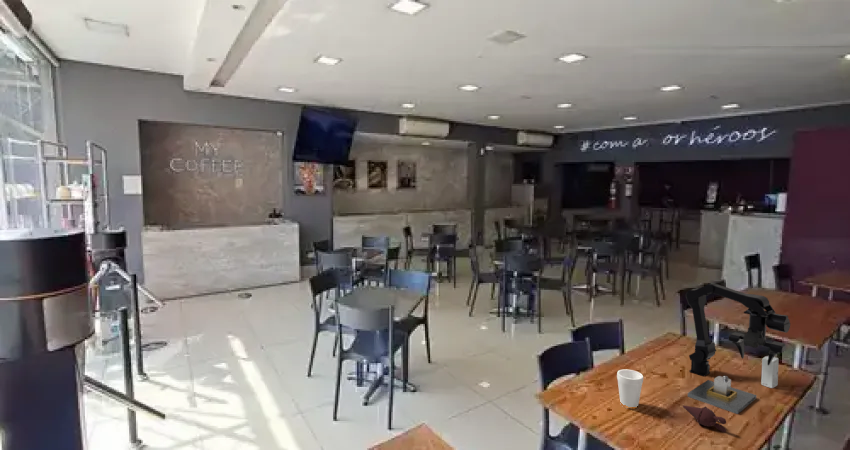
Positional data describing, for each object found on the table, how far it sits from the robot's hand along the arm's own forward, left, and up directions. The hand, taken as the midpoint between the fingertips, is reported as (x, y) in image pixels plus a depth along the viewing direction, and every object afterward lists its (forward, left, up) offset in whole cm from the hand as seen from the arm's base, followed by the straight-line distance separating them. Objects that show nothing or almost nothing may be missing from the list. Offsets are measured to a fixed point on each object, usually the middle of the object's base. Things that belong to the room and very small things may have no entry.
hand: (755, 361), depth 186 cm
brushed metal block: (-6, -17, -13) cm, 22 cm away
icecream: (-2, -45, -13) cm, 47 cm away
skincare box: (+2, +12, -13) cm, 18 cm away
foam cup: (-26, -53, -13) cm, 60 cm away
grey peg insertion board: (-6, -17, -13) cm, 22 cm away
